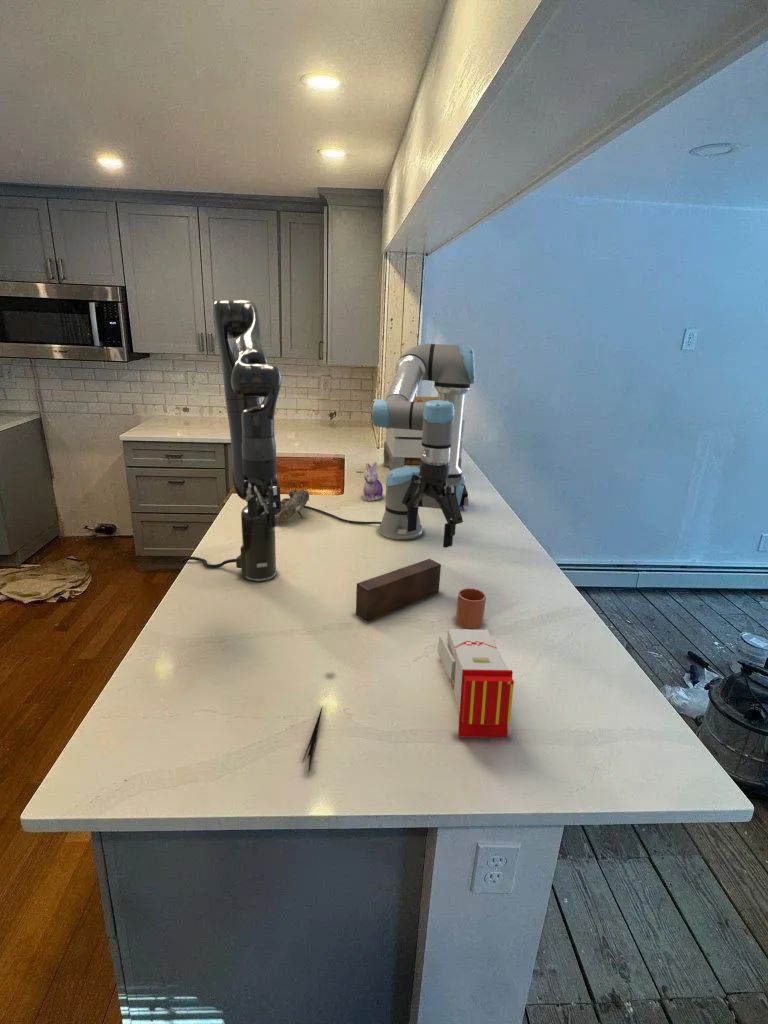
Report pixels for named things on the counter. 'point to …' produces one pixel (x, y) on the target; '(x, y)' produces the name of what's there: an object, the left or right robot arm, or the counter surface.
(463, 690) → the toy
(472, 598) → the terracotta cup
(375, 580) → the walnut box
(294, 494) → the fossil
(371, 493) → the figurine
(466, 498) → the figurine character
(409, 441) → the light grey boxy piece
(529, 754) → the counter surface
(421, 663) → the counter surface
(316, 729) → the feather
